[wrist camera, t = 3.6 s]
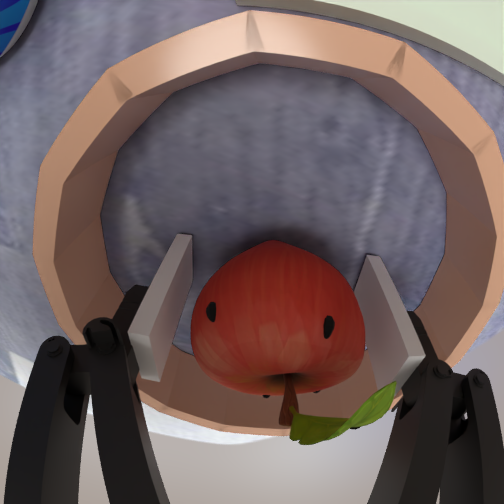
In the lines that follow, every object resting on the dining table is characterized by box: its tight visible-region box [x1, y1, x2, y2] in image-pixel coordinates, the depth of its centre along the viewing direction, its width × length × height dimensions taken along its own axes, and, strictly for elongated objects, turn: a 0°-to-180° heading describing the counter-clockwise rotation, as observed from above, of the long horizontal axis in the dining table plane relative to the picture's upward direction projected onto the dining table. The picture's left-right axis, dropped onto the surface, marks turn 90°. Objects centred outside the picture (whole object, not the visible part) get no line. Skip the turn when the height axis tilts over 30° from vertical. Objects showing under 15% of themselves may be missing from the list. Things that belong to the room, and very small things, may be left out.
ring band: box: [33, 10, 504, 436], centre depth 13 cm, size 21×21×4 cm
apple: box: [191, 240, 397, 445], centre depth 11 cm, size 8×7×10 cm
